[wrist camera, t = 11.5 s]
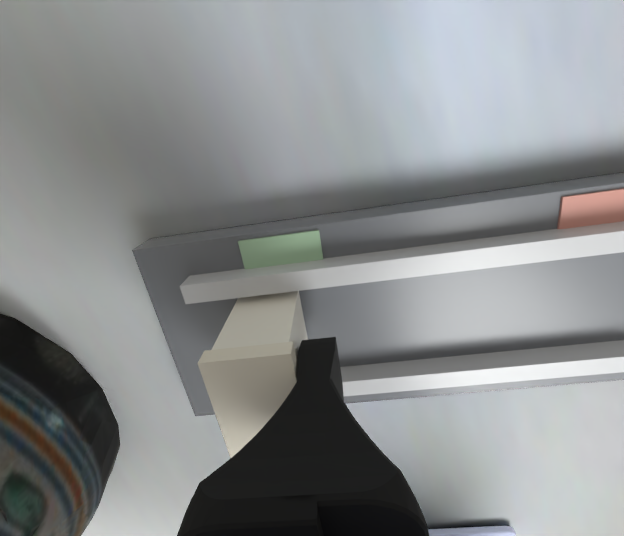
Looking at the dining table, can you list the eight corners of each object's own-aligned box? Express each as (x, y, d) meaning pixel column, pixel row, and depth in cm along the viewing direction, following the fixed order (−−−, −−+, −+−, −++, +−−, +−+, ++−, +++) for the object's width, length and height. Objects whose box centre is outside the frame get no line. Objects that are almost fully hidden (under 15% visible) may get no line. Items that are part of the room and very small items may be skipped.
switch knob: (316, 368, 15) (312, 456, 11) (256, 374, 15) (232, 462, 11) (301, 286, 14) (291, 353, 10) (235, 294, 14) (197, 363, 10)
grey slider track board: (685, 350, 16) (745, 388, 14) (205, 394, 18) (187, 432, 16) (750, 154, 13) (844, 161, 10) (150, 238, 15) (118, 259, 13)
